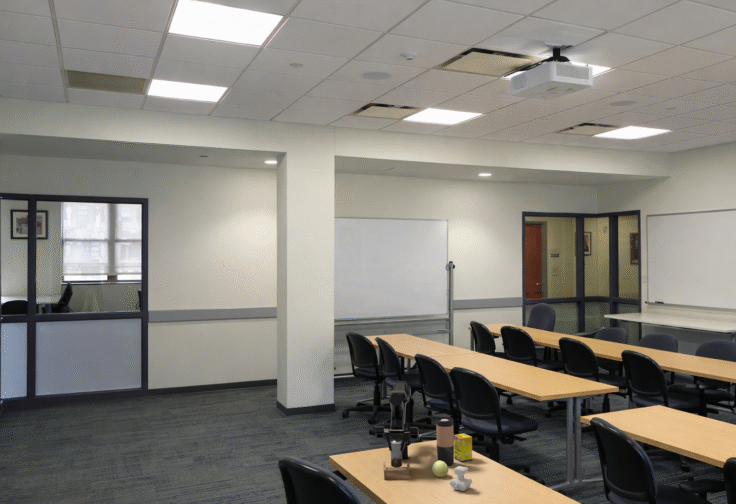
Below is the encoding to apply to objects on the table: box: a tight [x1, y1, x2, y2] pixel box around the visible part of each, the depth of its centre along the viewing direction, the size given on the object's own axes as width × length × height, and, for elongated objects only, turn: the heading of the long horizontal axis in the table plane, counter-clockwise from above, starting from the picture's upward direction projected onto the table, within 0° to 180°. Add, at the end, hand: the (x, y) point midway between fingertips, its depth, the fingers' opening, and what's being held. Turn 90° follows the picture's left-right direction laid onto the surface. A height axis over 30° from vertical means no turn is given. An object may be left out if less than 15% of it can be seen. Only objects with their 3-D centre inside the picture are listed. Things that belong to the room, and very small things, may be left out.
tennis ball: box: [431, 460, 449, 478], centre depth 250 cm, size 6×7×7 cm
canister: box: [390, 439, 403, 467], centre depth 253 cm, size 5×5×10 cm
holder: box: [382, 460, 412, 481], centre depth 253 cm, size 11×11×4 cm
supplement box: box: [454, 433, 473, 463], centre depth 270 cm, size 6×6×11 cm
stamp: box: [449, 465, 473, 492], centre depth 235 cm, size 9×7×8 cm
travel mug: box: [435, 416, 455, 468], centre depth 264 cm, size 8×8×20 cm
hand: (396, 450), depth 251 cm, fingers closed on canister, 5 cm apart
